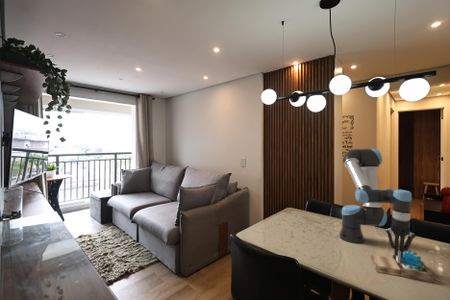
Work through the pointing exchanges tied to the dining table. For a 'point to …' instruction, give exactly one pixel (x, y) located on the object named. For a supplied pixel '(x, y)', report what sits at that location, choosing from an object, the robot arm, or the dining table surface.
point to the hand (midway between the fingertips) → (398, 261)
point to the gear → (412, 260)
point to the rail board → (400, 268)
